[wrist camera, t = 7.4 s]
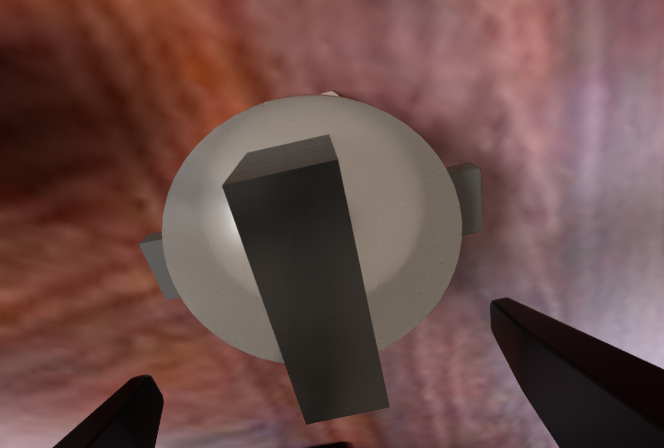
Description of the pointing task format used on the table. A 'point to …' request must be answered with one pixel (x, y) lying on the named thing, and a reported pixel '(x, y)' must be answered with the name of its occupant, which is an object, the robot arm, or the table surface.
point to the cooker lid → (314, 241)
